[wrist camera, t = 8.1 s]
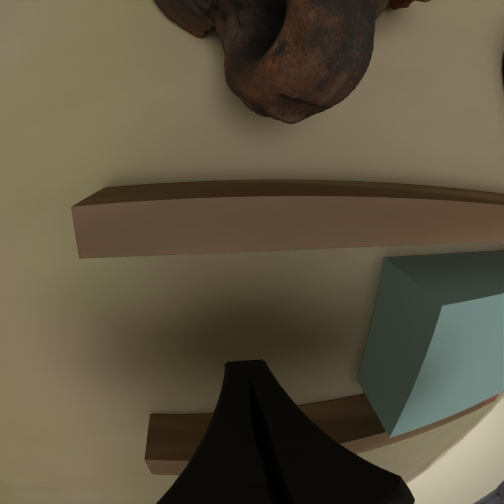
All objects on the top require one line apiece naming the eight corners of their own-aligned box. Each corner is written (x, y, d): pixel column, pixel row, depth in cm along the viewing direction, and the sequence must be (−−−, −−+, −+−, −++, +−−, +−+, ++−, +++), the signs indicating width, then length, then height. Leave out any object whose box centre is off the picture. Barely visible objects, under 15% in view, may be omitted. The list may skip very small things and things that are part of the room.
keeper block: (470, 347, 17) (509, 387, 12) (355, 376, 16) (389, 437, 11) (502, 248, 14) (556, 280, 10) (381, 255, 13) (442, 305, 9)
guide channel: (472, 375, 18) (494, 400, 15) (155, 430, 15) (151, 474, 12) (527, 197, 13) (564, 212, 10) (104, 187, 10) (71, 206, 8)
